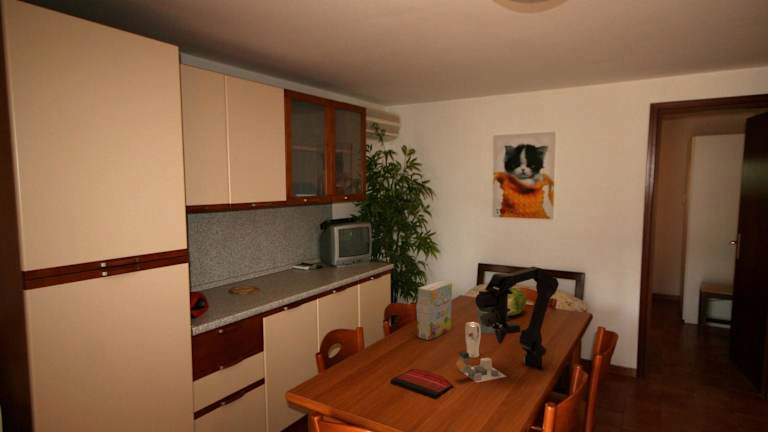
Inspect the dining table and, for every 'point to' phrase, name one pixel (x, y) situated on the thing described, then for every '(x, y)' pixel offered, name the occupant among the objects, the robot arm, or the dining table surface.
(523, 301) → the lettuce
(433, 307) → the snack box
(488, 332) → the grey pot
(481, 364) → the slider
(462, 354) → the black lever
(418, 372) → the binder
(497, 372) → the panel
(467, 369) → the orange lever
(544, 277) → the robot arm
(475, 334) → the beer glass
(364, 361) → the dining table surface
